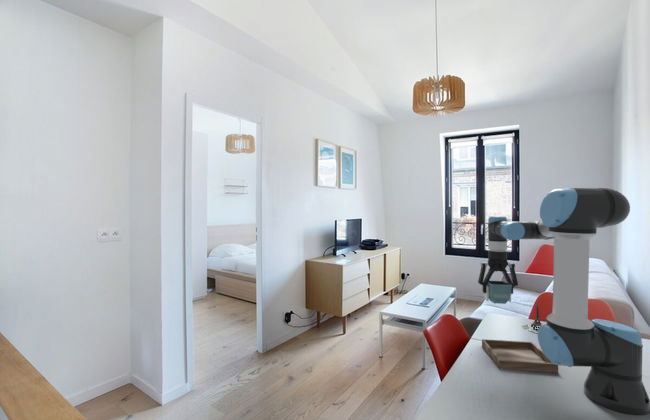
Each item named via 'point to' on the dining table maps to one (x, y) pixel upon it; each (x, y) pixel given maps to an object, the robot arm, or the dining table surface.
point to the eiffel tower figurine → (534, 322)
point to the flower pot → (499, 291)
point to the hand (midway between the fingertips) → (497, 300)
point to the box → (518, 356)
